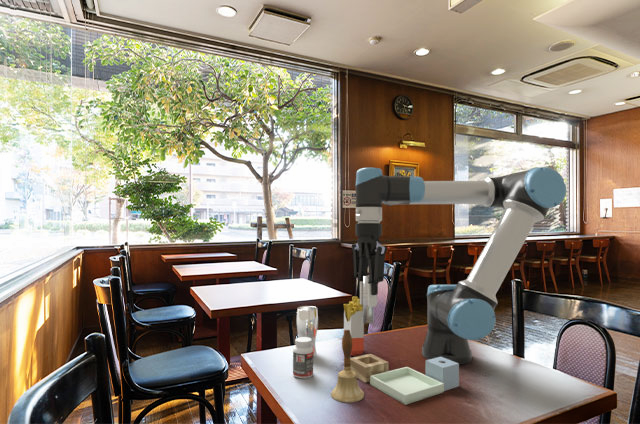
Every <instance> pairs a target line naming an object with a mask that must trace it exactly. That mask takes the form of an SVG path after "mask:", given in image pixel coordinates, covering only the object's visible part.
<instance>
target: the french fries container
mask: <svg viewBox="0 0 640 424" xmlns="http://www.w3.org/2000/svg"><path fill="white" fill-rule="evenodd" d="M345 330H350V334H351V337H352V351H351V354H350V357H351V356H353V357H357V356H362V355H363V353H364V351H365V323H363V305H361V304H360V298H359V297H358V296H352V297H351V301H348V303H343V332H344V331H345Z"/></svg>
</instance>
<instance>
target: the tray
mask: <svg viewBox="0 0 640 424" xmlns="http://www.w3.org/2000/svg"><path fill="white" fill-rule="evenodd" d="M369 385H370V386H372V387H374V388H376V389H377V390H379V391H381V392H382V393H384V394H385V395H387V396H389V397H391V398H393V399H395V400H396V401H398V402H400V403H401V404H403V405H404V406H406V405H409V404H412V403H416V402H419V401H422V400H425V399H428V398H431V397H435V396H437V395H440V394H443V393H445V391H444V383H442V382H439V381H437V380H435V379H433V378H431V377H429V376H426V375H425V374H424V373H422V372H419V371H417V370H415V369H413V368H411V367H409V366H405V367H401V368H396V369H392V370H389V371H388V372H384V373H380V374H376V375H372V376H370V382H369Z"/></svg>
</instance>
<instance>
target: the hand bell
mask: <svg viewBox="0 0 640 424" xmlns="http://www.w3.org/2000/svg"><path fill="white" fill-rule="evenodd" d="M341 348H342V352H343V369H342V370H341V371H339V372H338V375H337V376H338V377H337V382H336V385H335V387H334V388H333V389H332V391H331V393H330V397H331V398H332V399H333V400H335V401H337V402H340V403H341V402H342V403H345V404H346V403H350V404H351V403H356V402H359V401H361V400H363V399H364V397H365V393H364V390H362V389H361V387H360V385H359V383H358V380H357V379H358V378H357V377H356V373H355V372H354V371H352V370H351V367H350V366H351V364H350V358H351V356H350V354H351V351H352V337H351V334H350V330H345V331H344V330H343V335H342V338H341Z"/></svg>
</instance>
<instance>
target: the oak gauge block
mask: <svg viewBox="0 0 640 424" xmlns="http://www.w3.org/2000/svg"><path fill="white" fill-rule="evenodd" d="M350 364H351V366H350V367H351V370H352V371H354V372H355V373H356V377H357V379H359V380H360V381H362V382H364V384H365V383H370V376H372V375H376V374H380V373H384V372H388V371H390V370H389V361H386V360H384V359H382V358H381V357H378V356H377V355H375V354H372V353H368V354H362V355H357V356H353V357H350Z"/></svg>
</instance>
